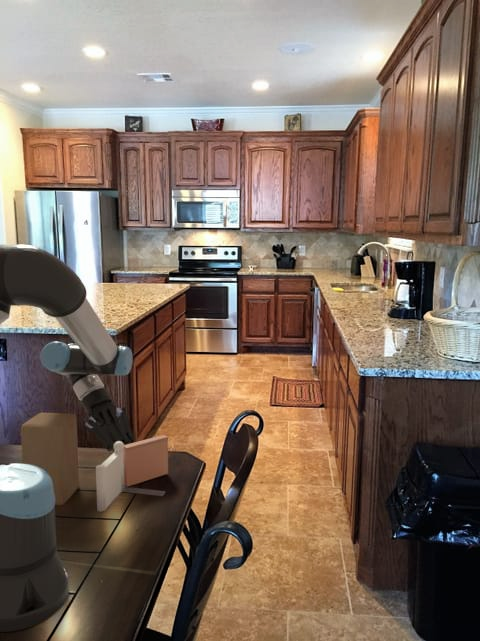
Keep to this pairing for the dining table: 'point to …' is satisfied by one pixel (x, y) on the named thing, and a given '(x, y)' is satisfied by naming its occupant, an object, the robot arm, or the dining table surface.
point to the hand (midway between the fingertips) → (135, 468)
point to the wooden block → (53, 450)
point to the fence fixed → (110, 477)
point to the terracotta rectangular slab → (145, 460)
